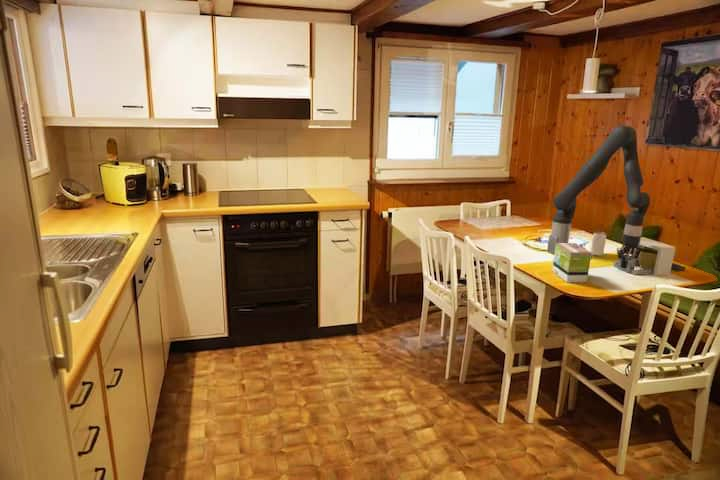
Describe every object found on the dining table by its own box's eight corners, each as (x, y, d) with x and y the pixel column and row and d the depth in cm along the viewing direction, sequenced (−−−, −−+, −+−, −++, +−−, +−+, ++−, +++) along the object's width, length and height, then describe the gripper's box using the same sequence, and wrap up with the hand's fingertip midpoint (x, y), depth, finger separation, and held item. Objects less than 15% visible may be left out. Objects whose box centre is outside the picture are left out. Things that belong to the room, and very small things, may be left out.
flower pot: (656, 272, 238) (660, 255, 236) (636, 269, 242) (640, 251, 240) (657, 268, 245) (661, 251, 243) (637, 264, 250) (641, 247, 247)
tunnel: (655, 275, 234) (661, 248, 231) (625, 263, 251) (630, 238, 247) (669, 273, 237) (675, 247, 233) (638, 262, 253) (643, 237, 250)
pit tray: (676, 271, 241) (677, 267, 241) (652, 262, 254) (653, 259, 253) (684, 270, 243) (685, 267, 242) (659, 261, 255) (660, 258, 255)
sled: (634, 274, 233) (637, 261, 231) (612, 265, 245) (614, 252, 243) (670, 271, 240) (673, 257, 238) (647, 262, 252) (649, 249, 250)
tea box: (551, 271, 234) (555, 242, 230) (571, 271, 235) (575, 242, 231) (566, 282, 220) (571, 251, 216) (587, 283, 221) (592, 251, 217)
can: (598, 256, 261) (602, 234, 258) (587, 253, 266) (591, 232, 263) (605, 254, 265) (609, 233, 261) (594, 251, 270) (597, 230, 266)
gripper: (627, 236, 229) (620, 271, 233) (650, 234, 233) (643, 269, 238) (614, 232, 236) (608, 266, 240) (637, 230, 240) (630, 264, 245)
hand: (625, 267), depth 239 cm, fingers closed on sled, 3 cm apart
